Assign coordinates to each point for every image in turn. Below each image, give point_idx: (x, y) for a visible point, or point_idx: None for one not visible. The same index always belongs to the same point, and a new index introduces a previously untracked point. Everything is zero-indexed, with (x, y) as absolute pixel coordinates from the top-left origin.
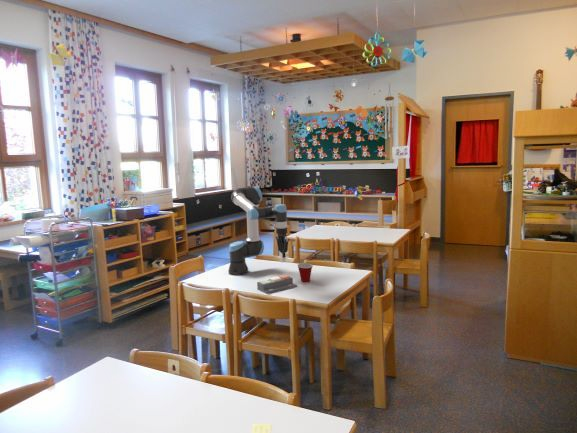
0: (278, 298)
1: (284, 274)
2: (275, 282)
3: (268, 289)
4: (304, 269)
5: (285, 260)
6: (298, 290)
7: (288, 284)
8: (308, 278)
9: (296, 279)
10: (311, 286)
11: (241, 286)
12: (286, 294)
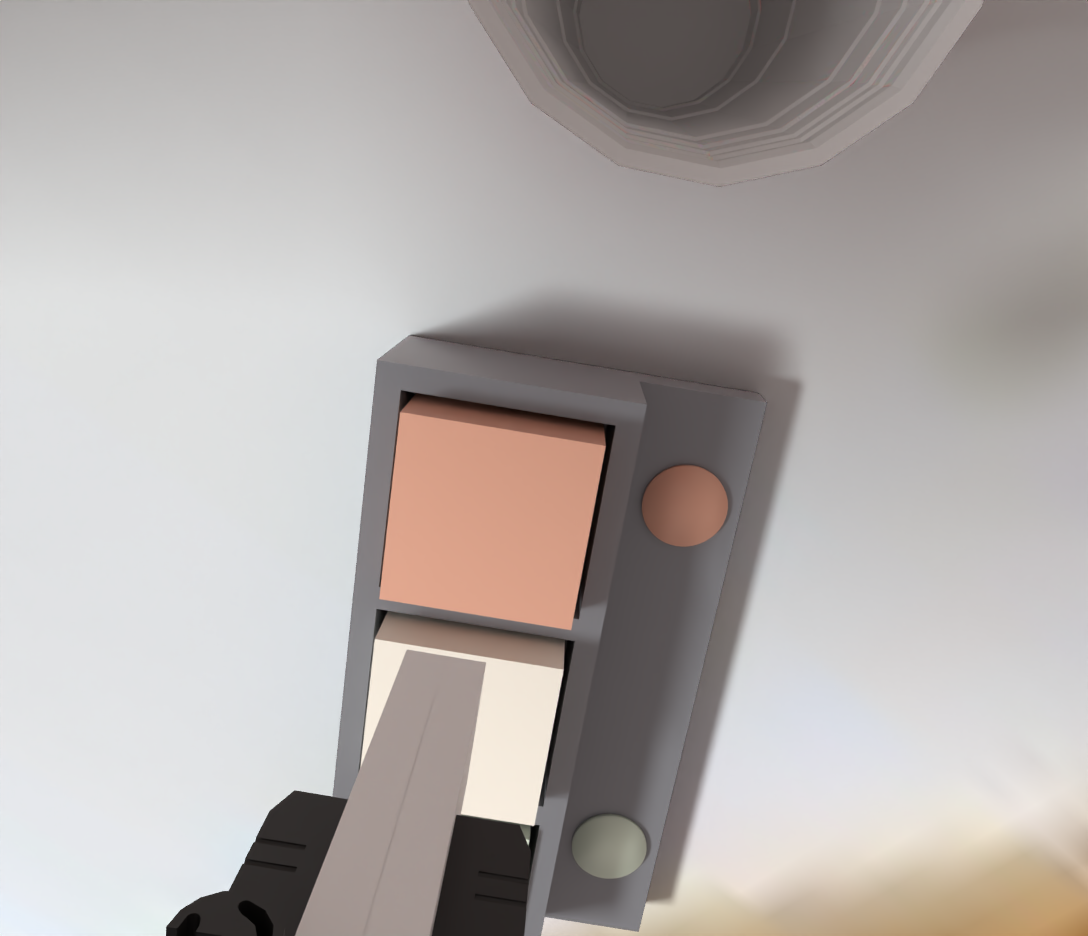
0: (914, 925)
1: (397, 441)
2: (570, 779)
3: (567, 855)
4: (845, 100)
5: (477, 691)
6: (929, 516)
7: (648, 507)
8: (789, 3)
9: (396, 38)
10: (994, 191)
11: (48, 902)
12: (893, 759)
